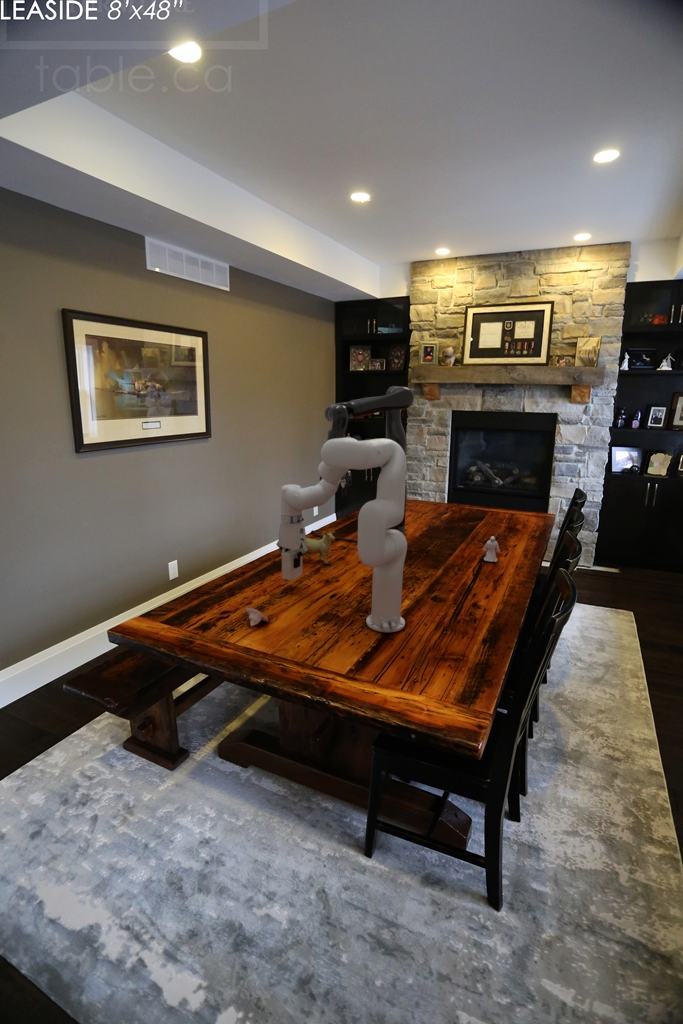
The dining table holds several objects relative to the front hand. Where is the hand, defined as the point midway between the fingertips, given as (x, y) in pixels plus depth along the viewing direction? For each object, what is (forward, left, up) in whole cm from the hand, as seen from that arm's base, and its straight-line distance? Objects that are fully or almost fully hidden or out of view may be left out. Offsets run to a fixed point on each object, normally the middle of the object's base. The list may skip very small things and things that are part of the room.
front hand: (291, 565), depth 187 cm
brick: (0, 0, -5) cm, 5 cm away
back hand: (+23, -17, +22) cm, 36 cm away
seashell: (-28, +11, -10) cm, 31 cm away
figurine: (+30, -88, -10) cm, 94 cm away
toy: (+29, -10, -10) cm, 33 cm away
